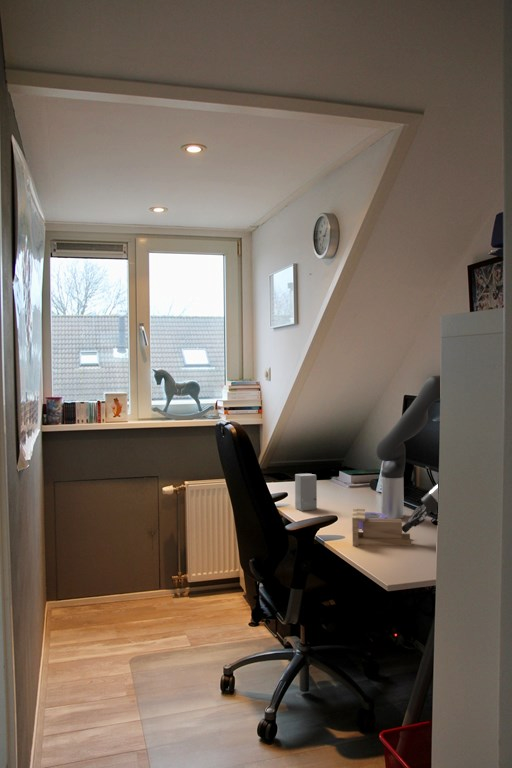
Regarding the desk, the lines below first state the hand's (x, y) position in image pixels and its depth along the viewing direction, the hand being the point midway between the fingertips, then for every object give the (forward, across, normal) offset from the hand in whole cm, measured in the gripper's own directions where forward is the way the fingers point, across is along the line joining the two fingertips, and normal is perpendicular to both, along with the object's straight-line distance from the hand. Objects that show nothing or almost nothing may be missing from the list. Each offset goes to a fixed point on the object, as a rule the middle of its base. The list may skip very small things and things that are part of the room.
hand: (403, 530), depth 233 cm
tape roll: (+11, -19, -5) cm, 23 cm away
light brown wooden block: (+8, 0, -2) cm, 9 cm away
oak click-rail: (+9, 0, -3) cm, 9 cm away
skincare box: (+31, -47, -25) cm, 62 cm away
